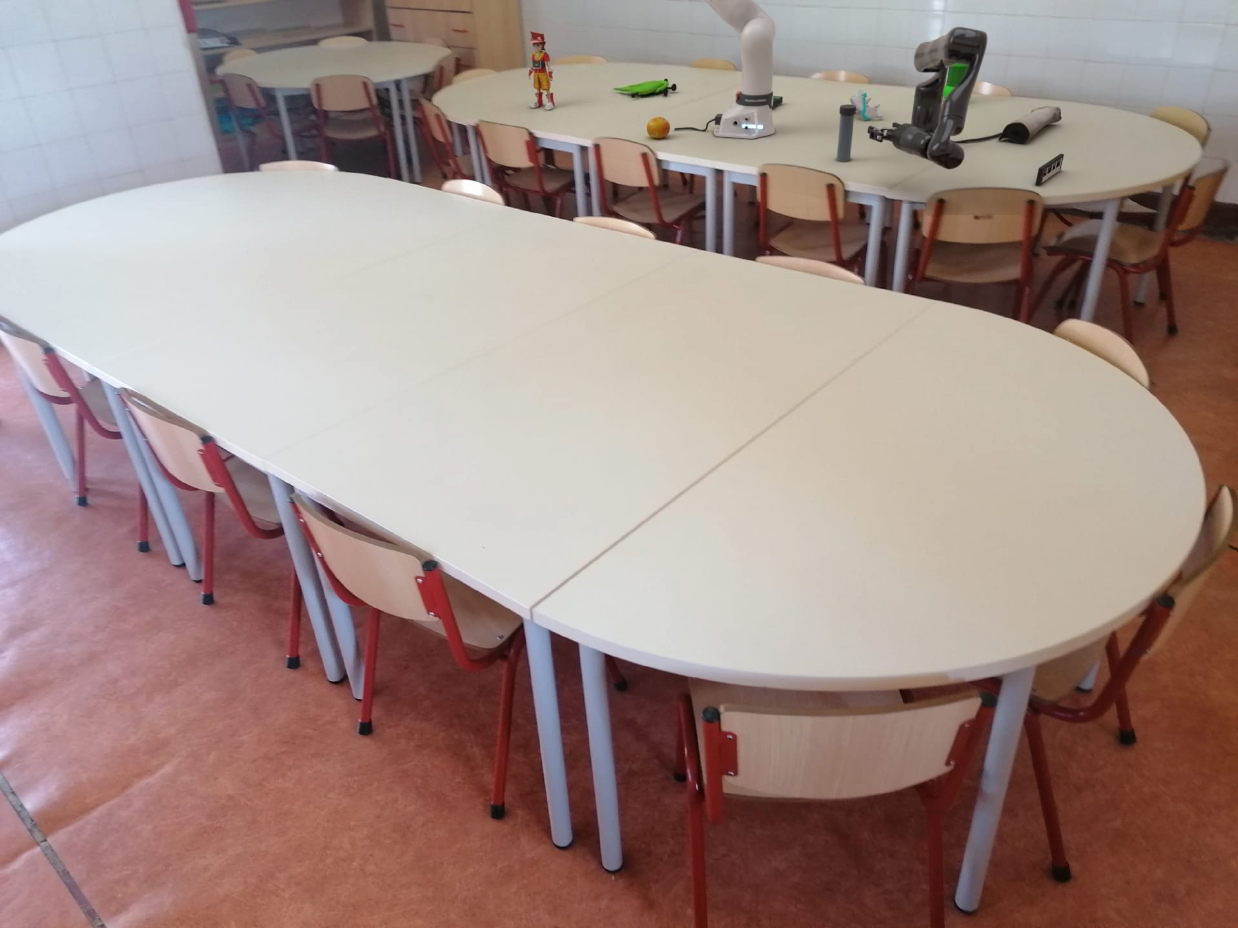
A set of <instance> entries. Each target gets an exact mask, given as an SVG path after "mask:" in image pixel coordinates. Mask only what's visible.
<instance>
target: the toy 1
mask: <svg viewBox="0 0 1238 928" xmlns="http://www.w3.org/2000/svg"><path fill="white" fill-rule="evenodd" d="M529 33H530V35H531V36H528V37H527V38H528V39H529V40H528V41H527V43H529V44H530V43H531V44H532V48H533V50H534V51H533V52H532V55H531V58H530V59H531V63H530V66H528V74H527V75H528V76H527V77H528V79H529V80H531V75H532V74H533V84H532V85H533V86H532V87H533V88H534V89H535V90H536V92H534V95H535V97H536V100H535V101H533V102H531V105H530V108H531V109H535V108H538V107H542V106H544V101H543V100H544V99H543V95H544V92H546V94H545V97H546V99H547V103H546V104H545V106H544V110H546V111H549V110H553V109H554V107H555V106H556V105H555V99H554V92H551V91H550V90H551V86H552V84H551V82H552V81H553V80H554V77H553V73H554V71H555V70H554V69H552V68H551V63H550V61H551V59H550V58H551V57H550V54H549V53H548V52H547V50H546V48H545V46H546V44H547V41H545V35H544V33H543V32H542V33H539V32H535V31H529Z"/></svg>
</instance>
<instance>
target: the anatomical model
mask: <svg viewBox="0 0 1238 928" xmlns="http://www.w3.org/2000/svg"><path fill="white" fill-rule="evenodd" d="M866 98H867V99H866ZM871 99H872V98H871V97H869V98H868V95H867V92H865V91H864V90H863V89H860V90H859V91H858V93H857V94H855V95H852V96H851V97H850V99H849V100H850V103H851V105H855V106H856V113H860V115H861V117H862V119H863V120H864V121H871V120H872V119H883V117H885V115H884V114H879V113H878V111H877V110H878V109H879V107H880V106H881V104H876V105H873V106H872V105H871V106H869V103H870V101H871Z"/></svg>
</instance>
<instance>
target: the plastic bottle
mask: <svg viewBox="0 0 1238 928" xmlns="http://www.w3.org/2000/svg"><path fill="white" fill-rule="evenodd" d="M967 70H968V65H962V64H957V63H956V64H955V65H953V66H951V67H949V68H948V71H947V77H946V83H945V88H944V94H943V100H945V98H946V97H947V95H948V94H949V93H950V92H951V91H952V90H953V89H954V88H955V87H956V85H957V84H958V83H959V82H960V81H961V80H962V79H963V77H964V76H965V74H966V72H967Z"/></svg>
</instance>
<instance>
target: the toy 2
mask: <svg viewBox="0 0 1238 928" xmlns="http://www.w3.org/2000/svg"><path fill="white" fill-rule="evenodd" d="M669 85H670V83H669V79H668V78H664V79H663V80H649V81H644V82H640V83H634V84H629V85H627V86H621V87H613V88H612V89H613V90H616V91H619V92H623V93H627V94H628V93H629V94H631V95H630V96H631V98H632V99H634V98H636V96H637V95H650V94H652V93H654V94H658V93H662V95H663V96H665V97H667V96H668V95H669V90H671V91H672V92H676V91H677V84H676V83H672V84H671V86H669Z"/></svg>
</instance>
